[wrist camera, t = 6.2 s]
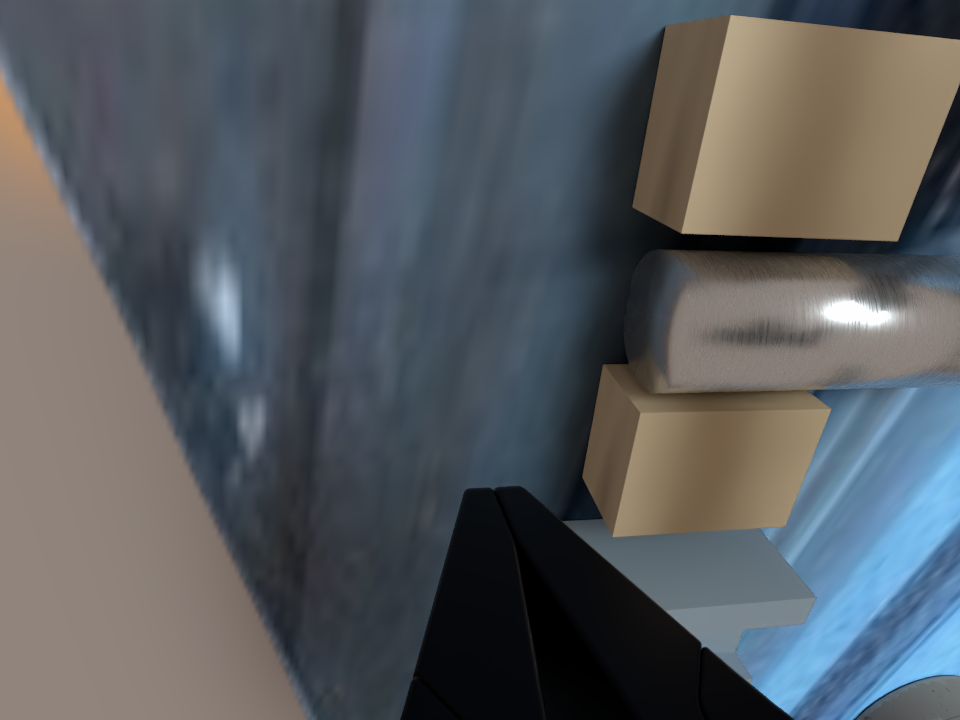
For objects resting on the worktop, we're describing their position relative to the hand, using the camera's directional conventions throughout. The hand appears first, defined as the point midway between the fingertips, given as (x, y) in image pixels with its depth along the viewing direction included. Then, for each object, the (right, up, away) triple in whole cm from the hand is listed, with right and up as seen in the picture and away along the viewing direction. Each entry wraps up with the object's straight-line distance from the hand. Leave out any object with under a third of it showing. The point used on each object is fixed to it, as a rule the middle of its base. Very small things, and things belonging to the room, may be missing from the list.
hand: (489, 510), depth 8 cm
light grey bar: (+10, +4, +10) cm, 15 cm away
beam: (+7, +4, +10) cm, 13 cm away
